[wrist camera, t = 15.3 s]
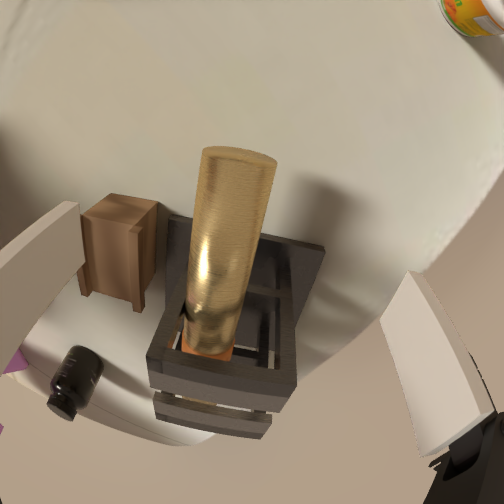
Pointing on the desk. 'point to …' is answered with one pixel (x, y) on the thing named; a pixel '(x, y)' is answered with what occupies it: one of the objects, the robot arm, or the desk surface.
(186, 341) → the air tube
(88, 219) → the block
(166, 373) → the collar stand
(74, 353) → the supplement bottle
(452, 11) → the supplement bottle
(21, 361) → the pink table lamp
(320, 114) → the desk surface
